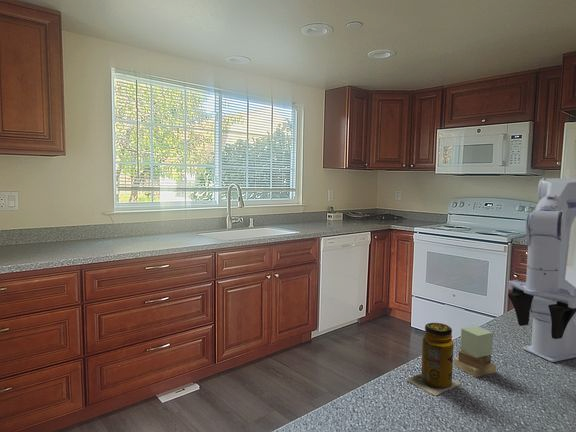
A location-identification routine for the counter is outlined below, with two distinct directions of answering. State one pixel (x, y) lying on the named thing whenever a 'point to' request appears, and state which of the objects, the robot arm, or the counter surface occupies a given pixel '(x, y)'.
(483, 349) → the sage block
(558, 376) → the counter surface
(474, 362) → the walnut slab
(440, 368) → the condiment
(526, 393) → the counter surface
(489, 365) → the oak slab
